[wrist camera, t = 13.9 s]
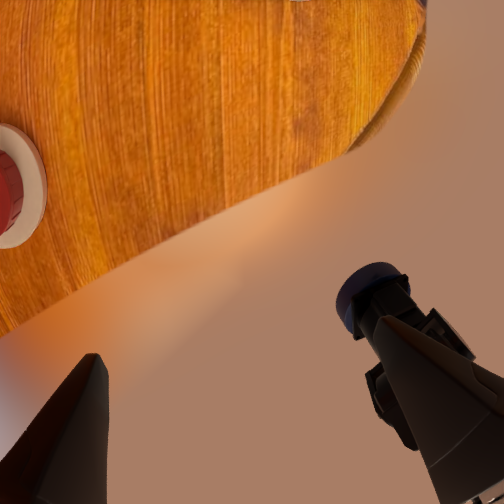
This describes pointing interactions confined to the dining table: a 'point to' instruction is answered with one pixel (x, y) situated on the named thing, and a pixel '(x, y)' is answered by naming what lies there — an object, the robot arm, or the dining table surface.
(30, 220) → the coaster
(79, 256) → the dining table surface
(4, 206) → the jar lid
